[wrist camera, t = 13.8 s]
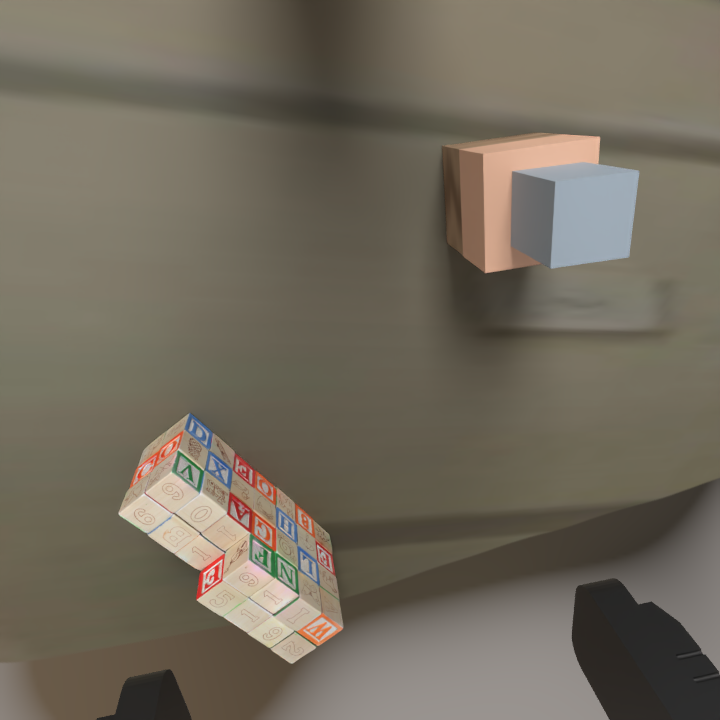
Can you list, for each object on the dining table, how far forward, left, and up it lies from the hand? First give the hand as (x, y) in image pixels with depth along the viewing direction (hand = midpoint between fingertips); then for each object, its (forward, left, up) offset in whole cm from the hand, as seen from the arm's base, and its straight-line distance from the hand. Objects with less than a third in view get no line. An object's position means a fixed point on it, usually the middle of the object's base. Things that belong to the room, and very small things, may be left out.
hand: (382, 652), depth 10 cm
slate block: (-2, +17, -28) cm, 33 cm away
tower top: (-2, +16, -33) cm, 37 cm away
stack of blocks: (+25, -10, -38) cm, 47 cm away
